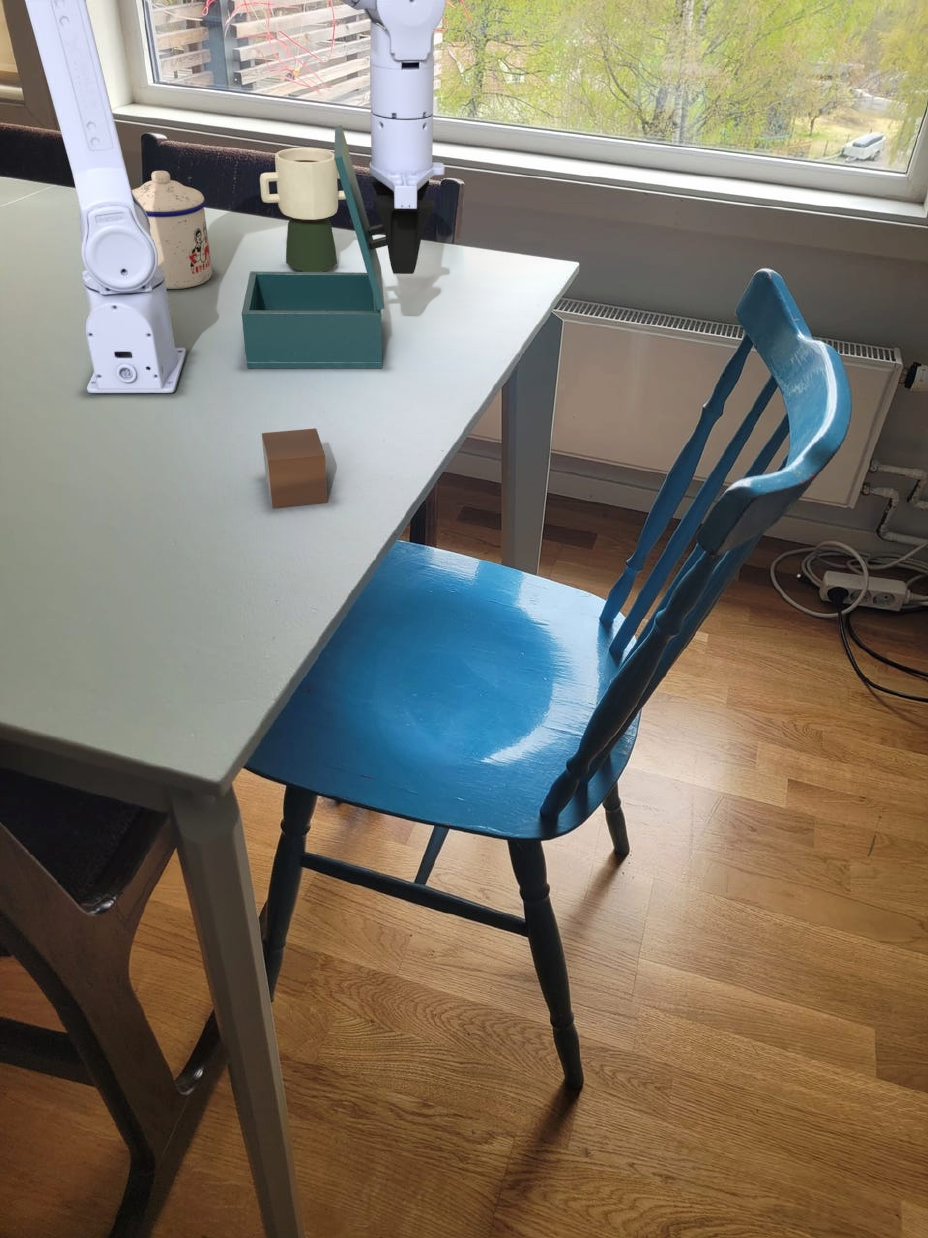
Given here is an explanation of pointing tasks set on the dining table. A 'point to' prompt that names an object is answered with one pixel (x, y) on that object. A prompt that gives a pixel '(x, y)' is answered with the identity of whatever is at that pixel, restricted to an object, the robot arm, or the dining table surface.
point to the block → (294, 467)
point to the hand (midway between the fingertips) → (401, 262)
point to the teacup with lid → (177, 230)
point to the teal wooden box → (311, 321)
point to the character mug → (306, 205)
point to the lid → (360, 217)
